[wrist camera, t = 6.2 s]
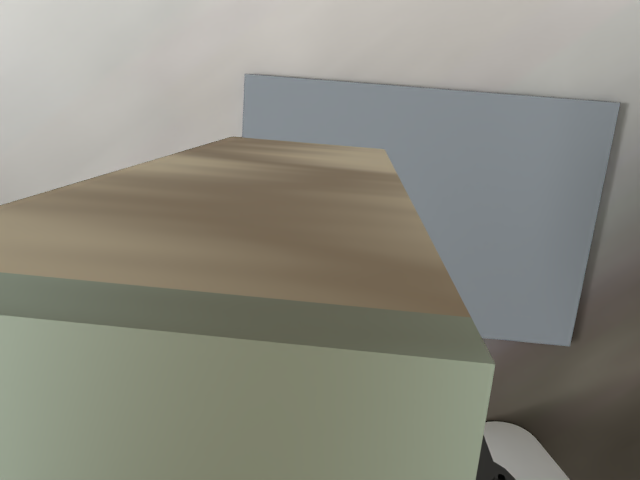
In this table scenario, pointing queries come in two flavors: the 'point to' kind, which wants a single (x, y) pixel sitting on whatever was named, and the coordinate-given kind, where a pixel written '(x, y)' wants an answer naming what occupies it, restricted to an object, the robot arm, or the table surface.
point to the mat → (472, 183)
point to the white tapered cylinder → (520, 453)
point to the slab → (235, 325)
